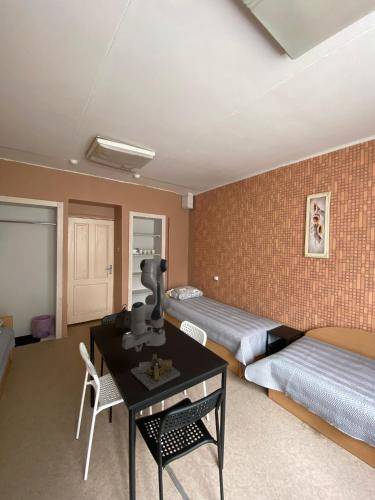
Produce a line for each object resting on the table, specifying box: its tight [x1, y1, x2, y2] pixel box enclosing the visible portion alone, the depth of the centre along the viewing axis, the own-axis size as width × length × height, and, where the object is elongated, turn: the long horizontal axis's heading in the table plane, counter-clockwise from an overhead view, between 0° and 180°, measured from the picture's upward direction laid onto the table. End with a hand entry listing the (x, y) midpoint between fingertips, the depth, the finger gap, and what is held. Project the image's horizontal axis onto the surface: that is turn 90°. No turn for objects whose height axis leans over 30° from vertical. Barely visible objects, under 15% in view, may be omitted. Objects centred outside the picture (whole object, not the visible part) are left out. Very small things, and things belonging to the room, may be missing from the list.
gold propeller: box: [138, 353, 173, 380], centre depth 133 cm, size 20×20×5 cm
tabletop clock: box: [115, 303, 132, 334], centre depth 202 cm, size 14×9×25 cm, turn 162°
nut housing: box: [130, 357, 181, 391], centre depth 133 cm, size 22×22×7 cm
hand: (138, 350), depth 133 cm, fingers closed
